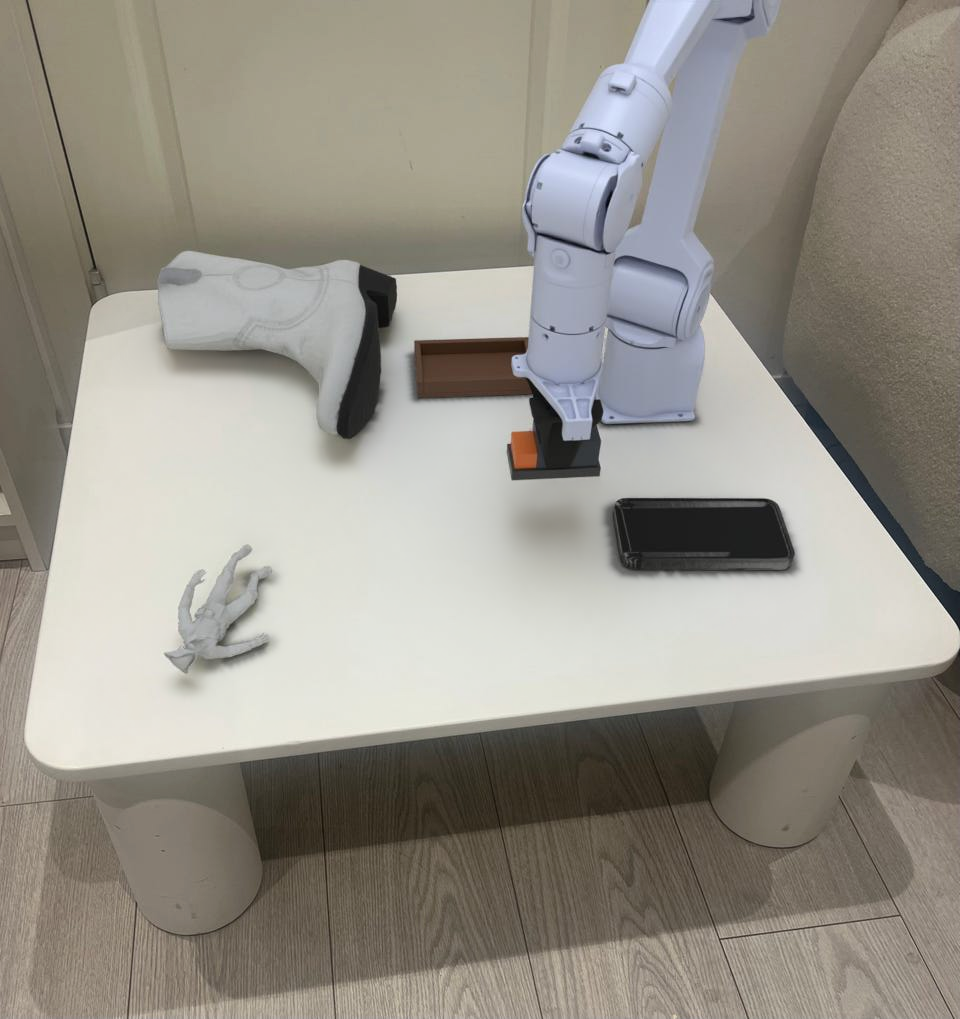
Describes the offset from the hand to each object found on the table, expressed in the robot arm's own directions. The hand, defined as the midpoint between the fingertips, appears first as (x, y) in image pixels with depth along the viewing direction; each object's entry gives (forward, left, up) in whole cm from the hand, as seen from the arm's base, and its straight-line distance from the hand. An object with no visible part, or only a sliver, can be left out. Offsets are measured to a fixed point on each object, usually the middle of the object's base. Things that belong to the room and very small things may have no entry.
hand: (554, 449), depth 85 cm
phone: (-13, +3, -9) cm, 16 cm away
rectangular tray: (+5, -22, -9) cm, 24 cm away
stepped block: (0, 0, -2) cm, 2 cm away
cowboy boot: (+26, -24, -9) cm, 36 cm away
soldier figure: (+28, +10, -9) cm, 31 cm away
